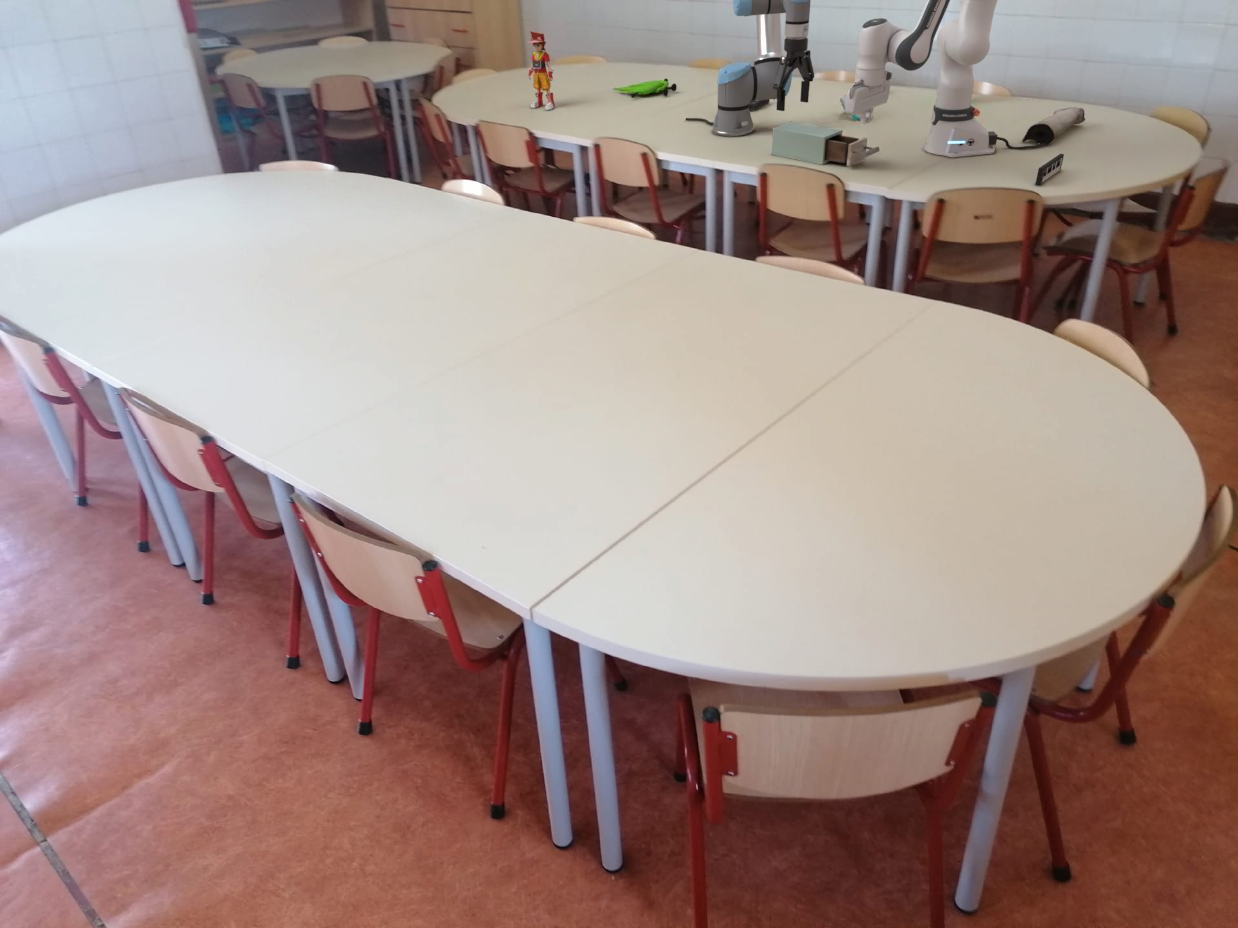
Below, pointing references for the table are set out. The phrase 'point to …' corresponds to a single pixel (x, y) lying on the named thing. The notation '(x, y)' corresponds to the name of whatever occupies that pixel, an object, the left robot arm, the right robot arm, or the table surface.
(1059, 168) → the midi keyboard
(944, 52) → the right robot arm
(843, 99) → the anatomical model
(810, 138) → the cabinet
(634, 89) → the toy
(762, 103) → the disk drive
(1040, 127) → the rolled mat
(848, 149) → the drawer
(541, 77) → the toy
